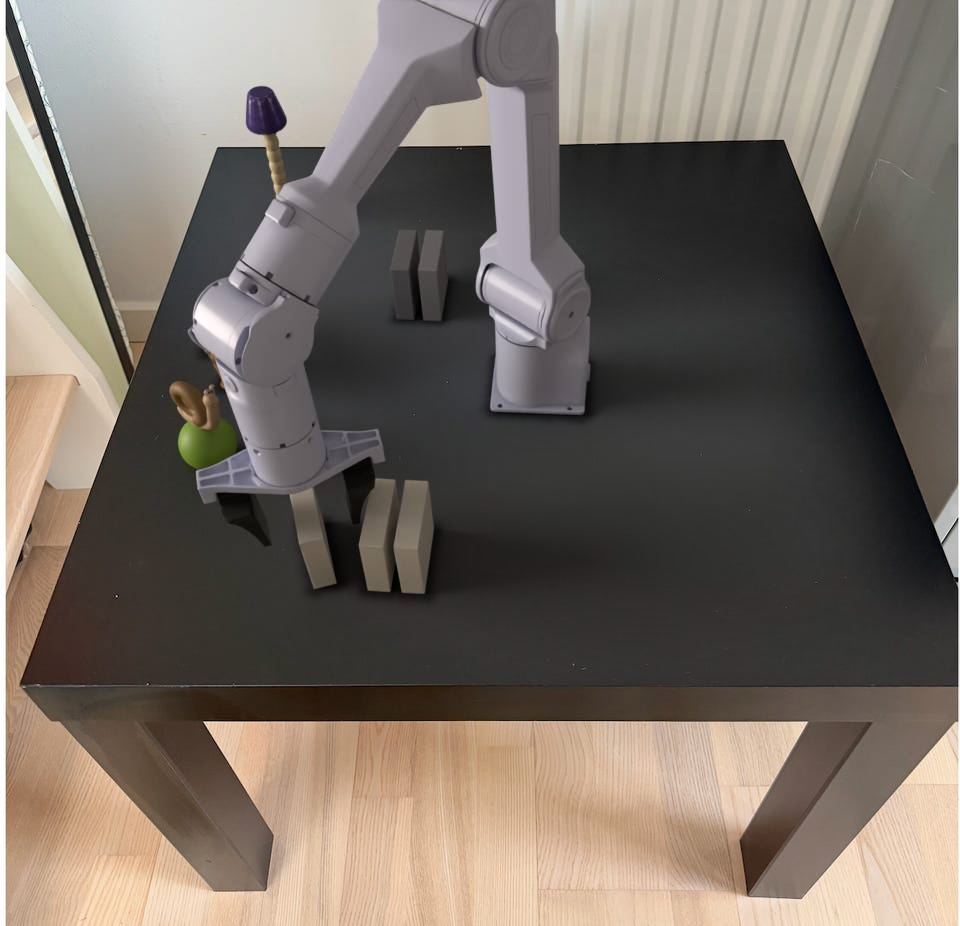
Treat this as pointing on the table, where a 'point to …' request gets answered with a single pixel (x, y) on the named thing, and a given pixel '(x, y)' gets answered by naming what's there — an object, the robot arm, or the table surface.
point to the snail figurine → (202, 427)
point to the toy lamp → (267, 128)
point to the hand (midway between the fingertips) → (310, 526)
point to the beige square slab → (313, 538)
